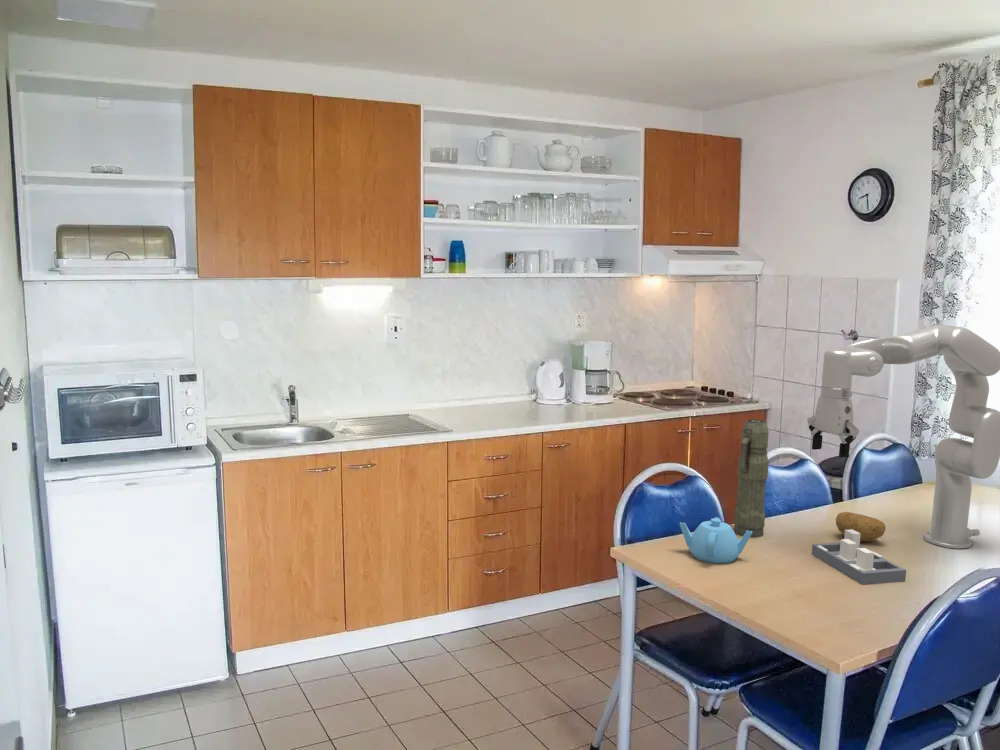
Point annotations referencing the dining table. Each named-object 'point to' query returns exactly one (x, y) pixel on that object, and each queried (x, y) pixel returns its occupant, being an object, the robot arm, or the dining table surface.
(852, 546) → the tab
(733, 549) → the teapot
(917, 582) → the dining table surface
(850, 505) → the dining table surface
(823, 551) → the switch bank
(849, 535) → the tab
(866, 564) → the tab
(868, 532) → the potato
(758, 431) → the thermos
